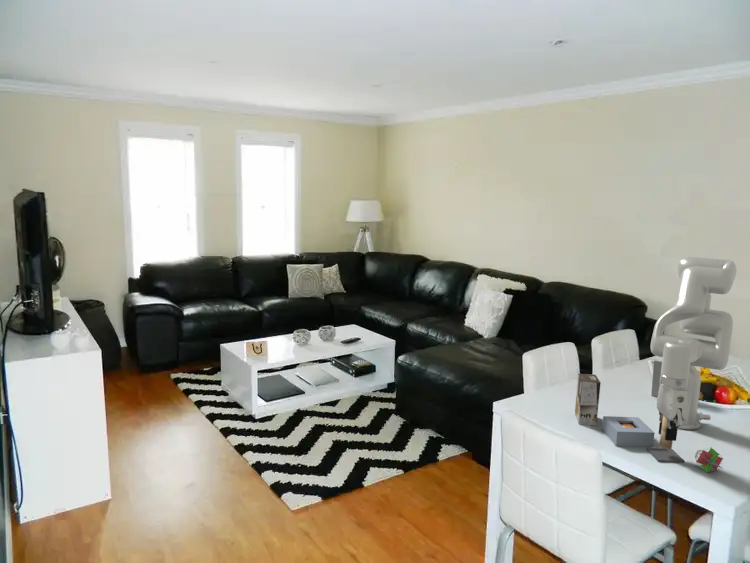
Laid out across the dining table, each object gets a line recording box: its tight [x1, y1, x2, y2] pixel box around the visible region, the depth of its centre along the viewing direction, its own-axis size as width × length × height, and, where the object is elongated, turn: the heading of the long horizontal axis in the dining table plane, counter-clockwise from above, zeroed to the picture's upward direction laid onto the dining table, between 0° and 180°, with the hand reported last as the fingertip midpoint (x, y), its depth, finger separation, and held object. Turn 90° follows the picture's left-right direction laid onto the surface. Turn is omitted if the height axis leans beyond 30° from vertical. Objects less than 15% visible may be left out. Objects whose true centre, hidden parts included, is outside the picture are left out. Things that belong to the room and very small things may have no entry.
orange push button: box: [622, 424, 634, 428], centre depth 184 cm, size 4×4×4 cm
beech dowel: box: [659, 415, 675, 449], centre depth 170 cm, size 3×3×11 cm
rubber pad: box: [645, 447, 686, 464], centre depth 172 cm, size 8×8×1 cm
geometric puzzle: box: [694, 447, 724, 474], centre depth 164 cm, size 7×7×8 cm
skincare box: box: [650, 355, 663, 398], centre depth 221 cm, size 8×7×16 cm
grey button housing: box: [601, 415, 655, 448], centre depth 184 cm, size 12×12×5 cm
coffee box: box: [574, 373, 601, 427], centre depth 197 cm, size 9×6×16 cm
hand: (667, 436), depth 171 cm, fingers closed on beech dowel, 3 cm apart
